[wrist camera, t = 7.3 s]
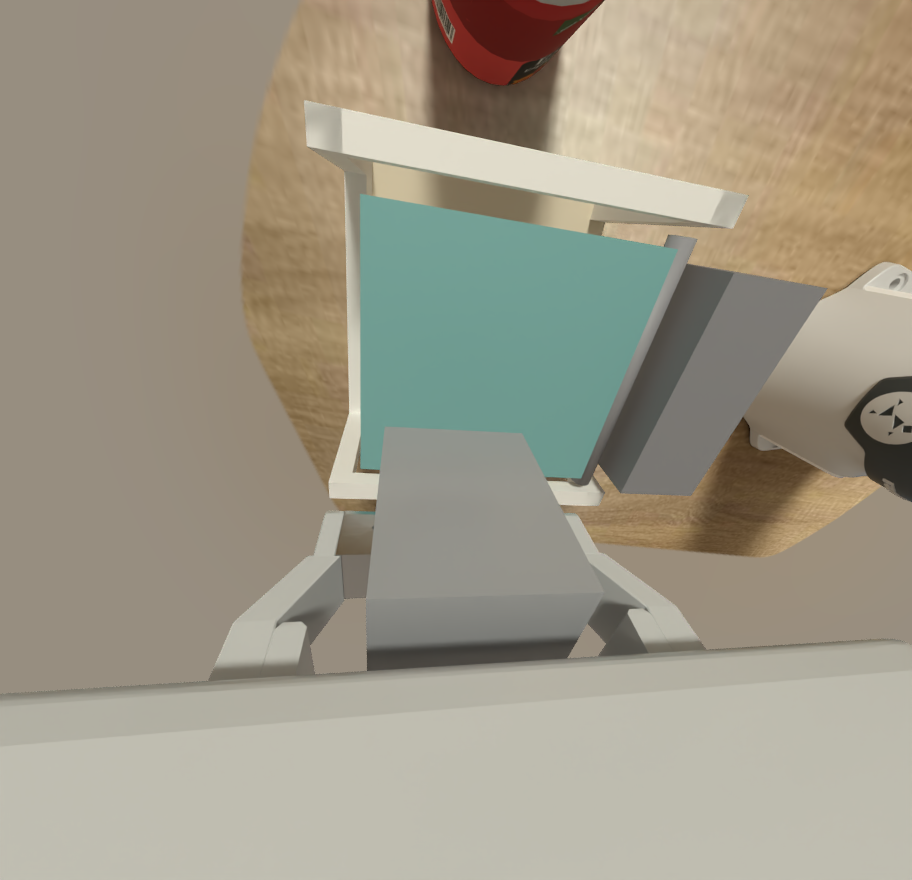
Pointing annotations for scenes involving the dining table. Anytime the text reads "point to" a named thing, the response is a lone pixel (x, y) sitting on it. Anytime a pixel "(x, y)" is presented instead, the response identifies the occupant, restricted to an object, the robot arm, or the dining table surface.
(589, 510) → the dining table surface
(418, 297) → the trapdoor
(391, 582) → the grey block
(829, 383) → the robot arm
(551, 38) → the canned food
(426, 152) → the frame
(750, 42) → the dining table surface
